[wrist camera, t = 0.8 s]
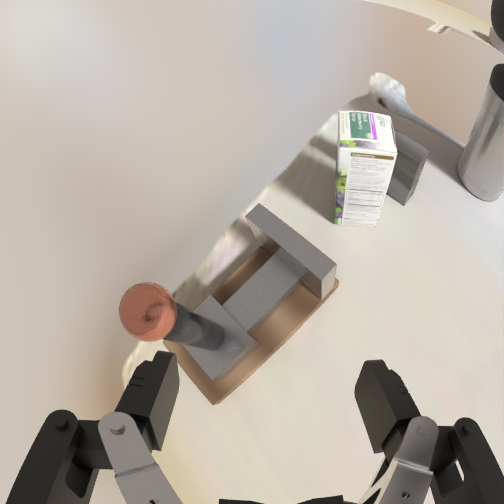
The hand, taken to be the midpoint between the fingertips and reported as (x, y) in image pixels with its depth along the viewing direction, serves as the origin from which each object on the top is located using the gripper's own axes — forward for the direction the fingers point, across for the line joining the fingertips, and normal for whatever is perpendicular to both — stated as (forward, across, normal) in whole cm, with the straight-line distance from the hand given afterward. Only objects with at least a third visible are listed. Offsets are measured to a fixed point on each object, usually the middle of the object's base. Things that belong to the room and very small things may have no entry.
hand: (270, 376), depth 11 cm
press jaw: (+19, +1, +8) cm, 20 cm away
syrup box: (+28, -13, -3) cm, 30 cm away
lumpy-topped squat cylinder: (+62, -90, -74) cm, 132 cm away
